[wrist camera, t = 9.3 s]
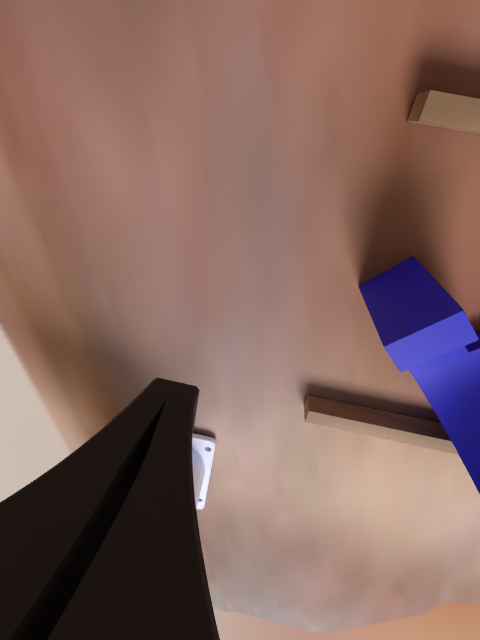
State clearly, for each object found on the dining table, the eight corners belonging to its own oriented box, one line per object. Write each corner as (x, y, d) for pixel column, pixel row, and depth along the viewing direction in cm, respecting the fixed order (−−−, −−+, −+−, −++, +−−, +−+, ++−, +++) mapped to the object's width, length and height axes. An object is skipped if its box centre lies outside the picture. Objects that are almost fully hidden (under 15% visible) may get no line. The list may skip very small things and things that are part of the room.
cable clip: (519, 395, 20) (595, 485, 15) (444, 421, 22) (489, 509, 17) (442, 238, 16) (510, 289, 11) (357, 284, 18) (383, 347, 13)
